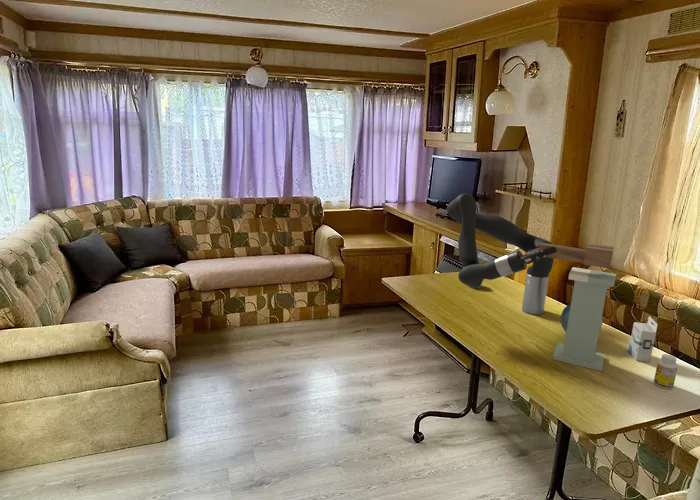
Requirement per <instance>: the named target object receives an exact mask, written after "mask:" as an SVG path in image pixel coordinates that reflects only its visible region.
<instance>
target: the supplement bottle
mask: <svg viewBox="0 0 700 500" xmlns="http://www.w3.org/2000/svg"><path fill="white" fill-rule="evenodd" d="M678 368H679V366H678V363H677V357H676V356H674V355H672V354H669V353H668V354H667V353H663V354H662V355H661V357H660V359H658V360H657V364H656V369H655V373H654V378H653V383H654V385H656V387H659V388H661V389H665V390H670V389H671V390H672V389H673V388H674V385H675V381H676V377H677V373H678Z"/></svg>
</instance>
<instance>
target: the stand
mask: <svg viewBox="0 0 700 500" xmlns="http://www.w3.org/2000/svg"><path fill="white" fill-rule="evenodd" d="M616 278H617V273H612V272H611V273H610V272H605V271H599V270H594V269H588V268H587V269H586V268H581V267H574V266H572V268H571V269H570V271H569V273H568V280H571V281H574V285H573V289H572V296H571V303H570V304H571V308H570V314H569V320H568V326H567V332H565V334H566V335H565V339H564V343H560V342H559V343H557V345H556V347H555V350H554V351H553V354H552V360H555V361H558V362H562V363H563V362H564V363H567V364H571V365H573V366H574V365H575V366H579V367H583V368H587V369H590V370H594V371H595V370H596V371H598V372H603V368H604V361H605V353H601V352H597V346H598V342H599V341H598V340H599V335H600V332H601V330H600V325H601V320H602V321H603V313H604V307H605V302H606V296H607V290H608V287H611V288H615V284H616V283H615V282H616Z"/></svg>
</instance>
